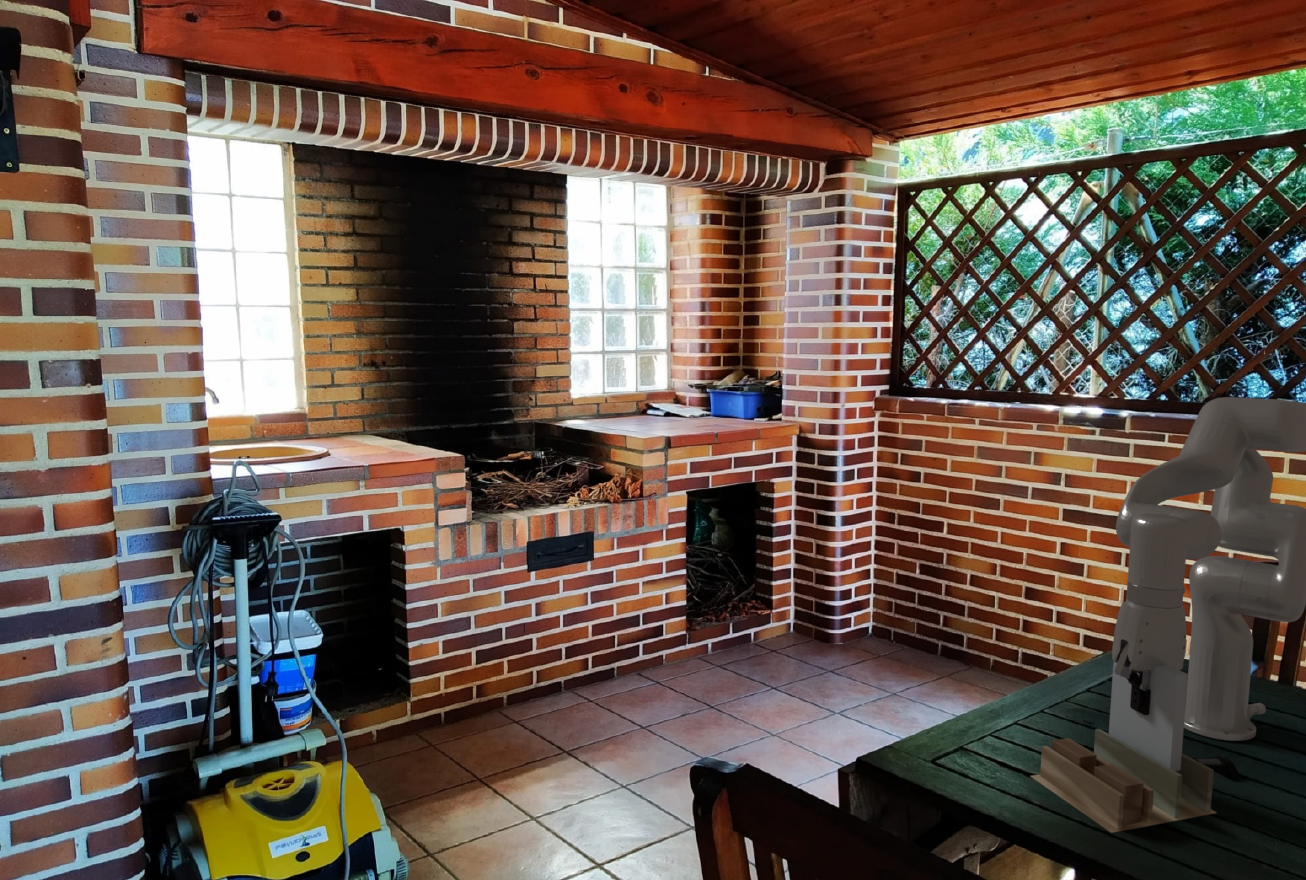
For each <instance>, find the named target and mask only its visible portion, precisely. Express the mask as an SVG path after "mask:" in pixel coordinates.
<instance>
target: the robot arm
mask: <svg viewBox="0 0 1306 880" xmlns="http://www.w3.org/2000/svg"><path fill="white" fill-rule="evenodd" d="M1257 450H1263V451H1273V452H1275V451H1276V452H1286V453H1287V452H1288V453H1303V452H1306V402H1299V401H1298V402H1297V401H1292V400H1284V399H1275V398H1255V397H1254V398H1253V397H1252V398H1251V397H1239V396H1238V397H1237V396H1236V397H1235V396H1232V397H1231V396H1228V397H1227V396H1226V397H1216V398H1213V399H1211V400H1209V401H1207V402H1206V403H1205V404H1204V405H1203V406H1202V407H1201V409H1200V411H1199V413H1198V414H1197V417H1196V419H1195V420H1194V423H1193V425H1192V426H1191V429H1190V432H1189V434H1188V436H1187V437H1186V440H1185V442H1184V444H1183V446H1182V449H1181V451H1180V453H1179V455H1178V456H1175V457H1174V458H1172V459H1171V458H1170V459H1169V460H1167V461H1165V462H1162V463H1161V464H1159V465H1157V466H1155V467H1153V468H1152V469H1150V470H1149V471H1147V472H1146V473H1144V474H1143V475H1141V476H1140V477H1139V478H1138V479H1136V480H1135V482H1134V483H1133V484H1132V486H1131V487H1130V488H1129V491H1128V493H1127V494H1126V497H1125V499H1123V500H1124V501H1123V503H1122V504H1121V507H1120V509H1119V512H1118V516H1117V519H1116V524H1115V531H1116V535H1117V538H1118V540H1119V541H1120V542H1121V544H1123V545H1124V546H1125V547H1128V548H1129V553H1128V554H1129V555H1128V556H1129V557H1128V572H1127V584H1126V599H1125V601H1122V602H1121V605H1120V607H1119V611H1118V613H1117V618H1116V622H1115V626H1114V633H1113V641H1112V648H1111V649H1112V650H1111V658H1112V661H1113V663H1114V662H1116V663H1117V665H1116V668H1115V671H1114V672H1115V674H1117V675H1120V676H1122V677H1124V678H1126V679H1127V680H1128V683H1129V684H1131V685H1132V687H1131V701H1130V707H1131V709H1133V710H1135V711H1137V712H1139V713H1141V714H1143V715H1149V710H1150V696H1151V691H1150V690H1148V683H1149V671H1151V670H1154V669H1155V666H1159V665H1168V666H1170V667H1173V668H1175V669H1177V670H1180V671H1182V670H1183V668H1184V662H1185V659H1186V658H1185V657H1186V649H1187V621H1186V611H1185V605H1183V601H1184V594H1185V593H1186V588H1185V587H1184V586H1185V577H1186V576H1185V575H1186V562H1187V560H1196V561H1195V562H1194V563H1193V564H1192V566H1191V568H1190V572H1189V578H1188V579H1189V590H1190V598H1191V599H1190V600H1191V633H1190V647H1189V658H1188V659H1189V660H1188V669H1187V670H1188V672H1187V674H1188V679H1187V692H1186V705H1185V717H1184V729H1185V730H1188V731H1189V732H1191V733H1195V734H1197V735H1200V736H1201V737H1202V736H1203V737H1207V738H1211V739H1215V740H1221V741H1228V742H1229V741H1230V742H1231V741H1232V742H1241V741H1250V740H1251V739H1253V738H1255V737H1256V735H1257V727H1256V726H1255V724H1254V723H1253V722H1252V721H1251V718H1252V717H1253V716H1255V715H1262V714H1263V715H1264V714H1265V713H1266V711H1267V710H1266V709H1267V708H1266V706H1265V704H1263V703H1262V702H1258V703H1256V702H1255V703H1251V704H1249V697H1250V696H1249V695H1250V683H1251V675H1252V674H1251V671H1252V664H1253V663H1252V661H1253V652H1254V651H1253V648H1254V638H1253V634H1252V631H1251V629H1250V627H1249V625H1248V624H1247V623H1248V622H1246V620H1245V618H1244V617H1243V616H1244V615H1245V616H1250V617H1253V618H1254V617H1255V618H1258V619H1259V618H1260V619H1265V620H1269V621H1276V622H1280V623H1292V622H1293V623H1294V622H1296V621H1297V620H1299V619H1300V618H1301V617H1302V616H1303V614H1304V611H1305V609H1306V508H1305V507H1303V506H1298V505H1293V504H1288V503H1278V502H1272V501H1271V494H1272V488H1273V482H1274V474H1273V471H1272V469H1271V467H1270V466H1269V464H1268V463H1267V461H1266V460H1265V458H1264V457H1263V456H1262V455H1261V454H1260V453H1259V451H1257ZM1213 490H1214V493H1213V498H1212V504H1211V505H1212V506H1211V509H1210V514H1209V513H1207V512H1206V511H1201V510H1195V509H1189V508H1182V507H1174V506H1168V505H1161V503H1164V502H1166V501H1167V500H1169V501H1170V500H1171V499H1175V498H1179V497H1184V496H1190V495H1195V494H1200V493H1206V492H1209V491H1213ZM1159 504H1160V505H1159ZM1218 547H1220V548H1221V549H1225V550H1230V551H1235V552H1241V553H1248V554H1253V555H1258V556H1259V555H1260V556H1264V557H1272V558H1274V559H1276V560H1277V561H1278V565H1276V564H1270V563H1266V562H1265V563H1264V562H1259V561H1253V560H1247V559H1243V558H1242V559H1241V558H1238V557H1237V558H1236V557H1229V556H1222V555H1211V554H1213V553H1214V552H1215V551H1216V550H1217V549H1218ZM1242 615H1243V616H1242ZM1137 672H1138V673H1140V677H1139V675H1138V674H1137Z"/></svg>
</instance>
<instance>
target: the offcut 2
mask: <svg viewBox="0 0 1306 880" xmlns="http://www.w3.org/2000/svg"><path fill="white" fill-rule="evenodd" d="M1094 776H1095V777H1096V778H1098V779H1100V780H1101V781H1103V782H1104V783H1106V784H1107V785H1109V786H1111V787H1112V788H1114V789H1115V790H1117V791H1119V792H1120V793H1122V794H1123V795H1124V809H1123V823H1122V826H1124V825H1130V824H1135V823H1140V822H1141V814H1142V800H1143V786H1144V783H1143V782H1141V781H1139V780H1138V779H1136V778H1134V777H1133V776H1131V775H1129V774H1128V773H1126V772H1124V771H1123V770H1121V769H1119V768H1118V767H1116V766H1114V765H1113V764H1109V765H1102V766H1096V767H1094Z"/></svg>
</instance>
